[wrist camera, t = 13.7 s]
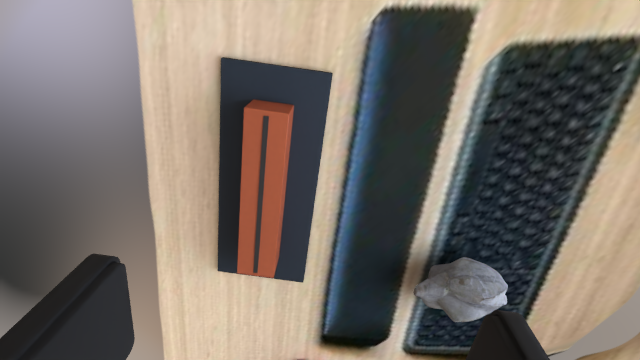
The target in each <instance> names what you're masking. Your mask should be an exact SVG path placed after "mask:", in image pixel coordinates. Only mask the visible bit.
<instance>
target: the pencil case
mask: <svg viewBox="0 0 640 360" xmlns="http://www.w3.org/2000/svg"><path fill="white" fill-rule="evenodd" d="M293 112H294V105H290V104H283V103H276V102H269V101H262V100H252V101H251V102H250V103H249V104H248V105H247V106H245V107H244V120H243V144H242V168H241V192H240V216H239V240H238V263H237V273H239V274H247V275H254V276H262V277H269V278H274V275H275V271H276V267H277V263H278V259H279V252H280V242H281V232H282V222H283V212H284V202H285V192H286V182H287V172H288V162H289V152H290V142H291V132H292V122H293Z"/></svg>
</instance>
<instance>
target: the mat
mask: <svg viewBox="0 0 640 360" xmlns="http://www.w3.org/2000/svg"><path fill="white" fill-rule="evenodd" d="M331 80H332V73H330V72H322V71H315V70H308V69H301V68H294V67H287V66H280V65H273V64H266V63H259V62H252V61H245V60H238V59H231V58H224V57H223V58H221V101H220V163H219V226H218V271H222V272H229V273H236V274H239V273H237V263H238V240H239V216H240V192H241V168H242V144H243V120H244V107H245V106H247V105H248V104H249V103H250V102H251V101H252V100H262V101H269V102H276V103H283V104H290V105H294V112H293V122H292V132H291V142H290V152H289V162H288V172H287V182H286V192H285V202H284V212H283V222H282V232H281V242H280V252H279V259H278V263H277V267H276V271H275V275H274V279H281V280H289V281H296V282H303V280H304V273H305V265H306V258H307V251H308V244H309V237H310V230H311V223H312V216H313V208H314V201H315V194H316V187H317V180H318V173H319V166H320V159H321V151H322V144H323V137H324V130H325V123H326V116H327V109H328V102H329V94H330V87H331ZM244 275H247V274H244ZM251 276H254V275H251ZM259 277H262V276H259ZM266 278H269V277H266Z"/></svg>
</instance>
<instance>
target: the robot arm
mask: <svg viewBox="0 0 640 360" xmlns="http://www.w3.org/2000/svg"><path fill="white" fill-rule="evenodd" d="M133 344H134V330H133V322H132V315H131V306H130V298H129V290H128V282H127V275H126V268H125V265H124V264H122V263H120V260H119V258H118V257H114V256H107V255H99V254H91V255H90V256H88V257H87V258H86V259H85V260H84V261H83V262H82V263H80V264H79V265H78V266H77V267H76V268H75V269H74V270H73V271H72V272H71V273H70V274H69V275H68V276H67V277H65V278H64V279H63V280H62V281H61V282H60V283H59V284H58V285H57V286H56V287H55V288H54V289H53V290H52V291H51V292H49V294H47V295H46V296H45V297H44V298H43V299H42V300H41V301H40V302H39V303H38V304H37V305H36V306H35V307H33V308H32V309H31V310H30V311H29V312H28V313H27V314H26V315H25V316H24V317H23V318H22V319H21V320H20V321H18V322H17V323H16V324H15V325H14V326H13V327H12V328H11V329H10V330H9V331H8V332H7V333H6V334H5V335H4V336H2V337H1V339H0V360H126V358H127V357H128V355H129V354H130V352H131V350H132V347H133ZM466 360H550V359H549V358H548V356H547V355H546V353H545V351H544V350H543V348H542V346H541V345H540V343H539V342H538V340H537V338H536V337H535V335H534V334H533V332H532V330H531V329H530V327H529V326H528V324H527V322H526V321H525V319H524V318H523V316H522V315H521V314H519V313H515V312H507V311H500V310H494V311H493V312H492V313H491V315H486V316H485V318H484V320H483V322H482V324H481V327H480V329H479V331H478V333H477V336H476V338H475V340H474V342H473V344H472V347H471V349H470V351H469V353H468V356H467V358H466Z"/></svg>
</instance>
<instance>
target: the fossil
mask: <svg viewBox="0 0 640 360" xmlns="http://www.w3.org/2000/svg"><path fill="white" fill-rule="evenodd" d="M507 287H508V286H507V284H506V283H505V282H504V280H503V278H502V276H501V275H500V274H499V273H498V272H497V271H495V270H494V269H492V268H491V267H489V266H488V265H486V264H483V263H481V262H478V261H475V260H473V259H470V258H467V257H463V258H460V259H458V260H456V261H454V262H452V263H449V264H440V265H434V266H432V267H431V269H430V272H429V276H428V279H426V280H425V281H423V282H421V283H420V284H418V285H417V286H416V287H415V289H414V295H415V296H419V297H421V299H422V300H423V302H424V303H425V304H426V305H427V306H428V307H431V308H436V309H443V310H444V311H445V312H446V313H447V315H448V316H449V317H450V318H451V319H452V320H453V321H454V322H467V321H473V320H476V319H478V318H481V317H482V316H484V315H487V314H489V313H491V312H492V311H494V310H496V309H497V308H499V307H501V306H503V305H506V304H507V297H506V295H505V293H506V291H507Z"/></svg>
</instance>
